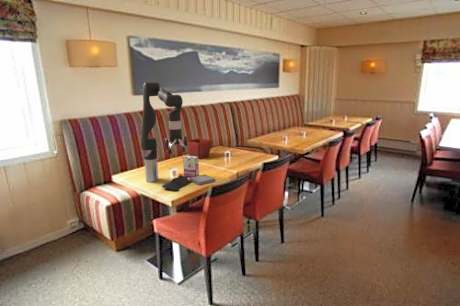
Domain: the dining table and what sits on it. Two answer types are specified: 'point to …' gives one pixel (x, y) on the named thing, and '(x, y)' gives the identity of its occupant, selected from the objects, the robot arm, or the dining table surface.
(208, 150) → the plant pot
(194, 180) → the slate board
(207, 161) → the dining table surface
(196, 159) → the candy bar box
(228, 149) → the dining table surface
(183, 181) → the dark slate chunk
